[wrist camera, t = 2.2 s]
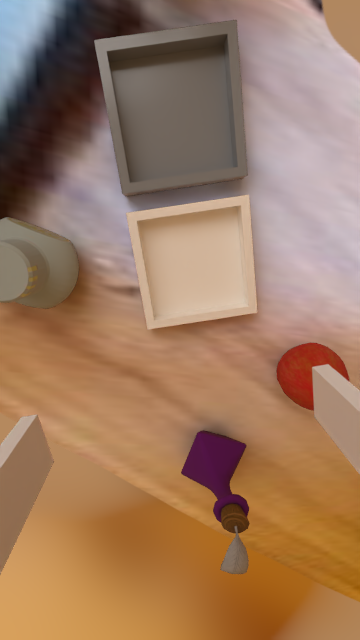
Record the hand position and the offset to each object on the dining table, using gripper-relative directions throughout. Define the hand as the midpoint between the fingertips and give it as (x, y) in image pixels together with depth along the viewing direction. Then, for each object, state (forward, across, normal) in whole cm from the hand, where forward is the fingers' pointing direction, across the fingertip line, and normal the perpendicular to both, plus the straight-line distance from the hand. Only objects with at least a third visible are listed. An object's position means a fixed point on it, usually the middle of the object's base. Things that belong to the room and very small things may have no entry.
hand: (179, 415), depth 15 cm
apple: (+28, +16, -13) cm, 34 cm away
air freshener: (+27, -15, +7) cm, 32 cm away
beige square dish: (+27, +4, +4) cm, 28 cm away
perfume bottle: (+28, +2, -24) cm, 37 cm away
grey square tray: (+27, +4, +20) cm, 34 cm away
